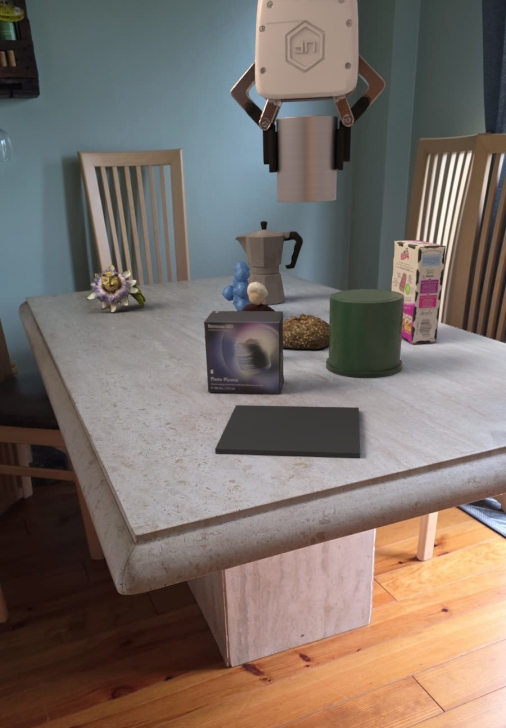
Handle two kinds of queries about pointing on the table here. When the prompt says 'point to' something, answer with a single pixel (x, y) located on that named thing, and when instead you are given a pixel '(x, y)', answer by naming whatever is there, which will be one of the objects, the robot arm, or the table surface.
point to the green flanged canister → (365, 333)
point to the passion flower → (114, 289)
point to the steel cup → (306, 158)
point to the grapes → (238, 287)
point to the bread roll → (305, 332)
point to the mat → (292, 431)
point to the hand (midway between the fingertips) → (306, 169)
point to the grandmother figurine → (257, 298)
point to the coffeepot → (269, 259)
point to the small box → (244, 351)
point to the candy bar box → (419, 287)
